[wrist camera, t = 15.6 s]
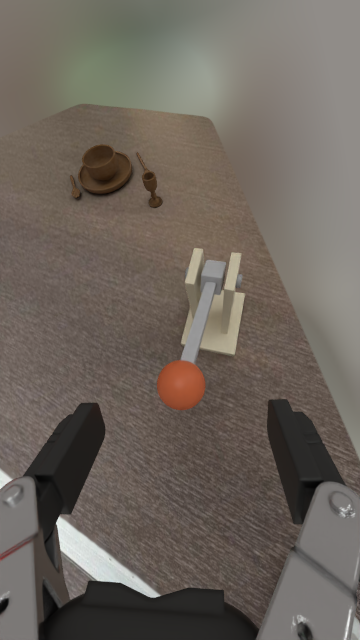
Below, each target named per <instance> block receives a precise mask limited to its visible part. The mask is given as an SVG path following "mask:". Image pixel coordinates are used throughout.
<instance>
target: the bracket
mask: <svg viewBox="0 0 360 640" xmlns="http://www.w3.org/2000/svg"><path fill="white" fill-rule="evenodd" d="M240 259H241V253H233V252H232V253H231V258H230V263H229V268H228V273H227V277H226V282H225V287H224V290H222V291H221V294H220V295H215V294H214V298H213V301H212V305H211V309H210V312H209V316H208V319H207V323H206V327H205V330H204V334H203V338H202V341H201V345H200V348H199V350H204V351H209V352H214V353H219V354H223V355H228V356H233V357H234V355H235V349H236V343H237V338H238V332H239V326H240V320H241V315H242V309H243V303H244V297H245V294H244V293H237V292H235V290H236V288H240V286H241V280H242V275H240V274H238V272H239V265H240ZM203 268H204V256H203V249H198V248H194V251H193V254H192V258H191V262H190V265H189V267H187V269H186V272H185V286H186V291H187V295H188V300H189V304H190V309H189V313H188V317H187V321H186V325H185V329H184V333H183V337H182V341H181V345H182V346H185V344H186V341H187V338H188V335H189V332H190V329H191V326H192V323H193V319H194V316H195V313H196V310H197V307H198V304H199V301H200V298H201V295H202V292H201V274H202V271H203Z"/></svg>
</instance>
